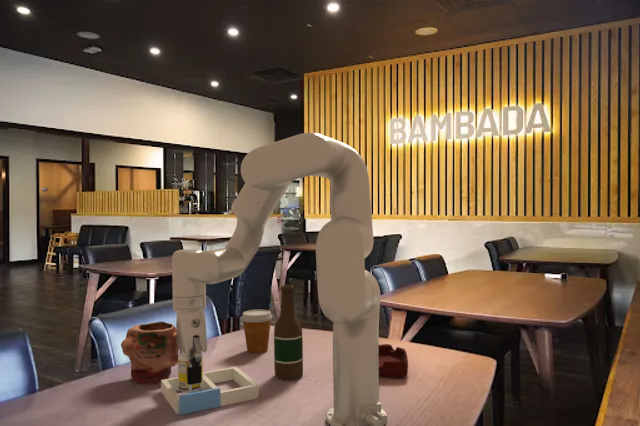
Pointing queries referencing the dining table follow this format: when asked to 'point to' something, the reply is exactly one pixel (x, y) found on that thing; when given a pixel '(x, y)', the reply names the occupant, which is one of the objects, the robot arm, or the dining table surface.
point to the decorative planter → (151, 351)
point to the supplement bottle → (183, 374)
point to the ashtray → (392, 362)
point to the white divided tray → (210, 391)
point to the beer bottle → (288, 339)
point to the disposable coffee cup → (257, 330)
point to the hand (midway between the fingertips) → (190, 378)
